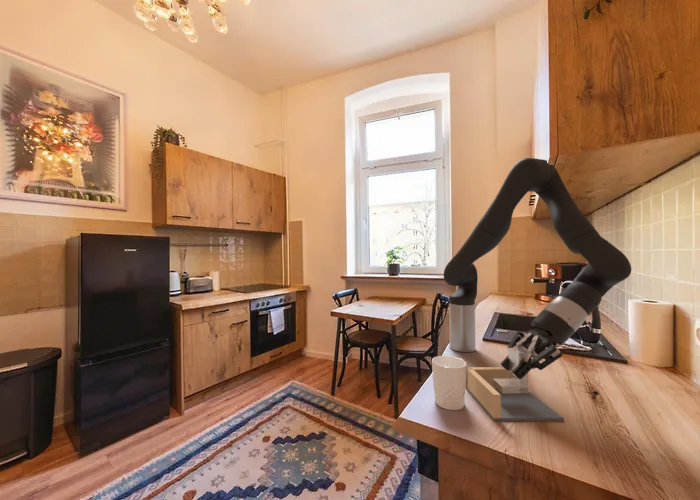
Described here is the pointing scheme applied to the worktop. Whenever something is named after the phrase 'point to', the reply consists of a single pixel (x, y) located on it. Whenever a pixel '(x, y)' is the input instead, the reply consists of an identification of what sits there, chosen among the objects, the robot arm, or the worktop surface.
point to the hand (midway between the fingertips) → (510, 371)
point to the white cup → (449, 382)
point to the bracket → (513, 382)
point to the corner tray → (505, 398)
